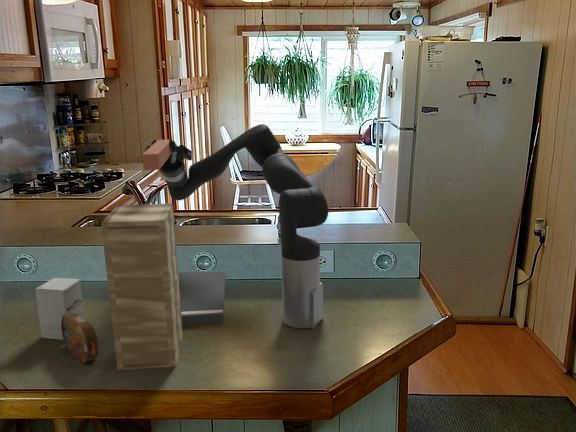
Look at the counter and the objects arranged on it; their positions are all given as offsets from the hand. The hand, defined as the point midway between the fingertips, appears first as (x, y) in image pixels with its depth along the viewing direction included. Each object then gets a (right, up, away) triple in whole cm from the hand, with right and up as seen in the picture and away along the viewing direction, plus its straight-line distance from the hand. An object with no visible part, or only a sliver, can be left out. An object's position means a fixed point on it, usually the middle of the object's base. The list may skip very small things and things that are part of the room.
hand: (162, 143), depth 136 cm
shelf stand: (+2, -49, -20) cm, 53 cm away
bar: (+1, -5, -7) cm, 9 cm away
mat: (+6, -42, +7) cm, 43 cm away
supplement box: (-21, -47, -10) cm, 53 cm away
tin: (-13, -50, -20) cm, 55 cm away
